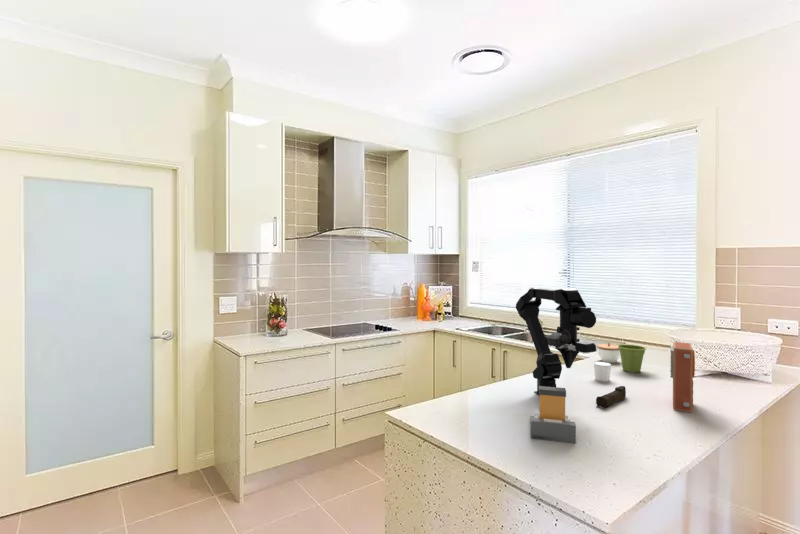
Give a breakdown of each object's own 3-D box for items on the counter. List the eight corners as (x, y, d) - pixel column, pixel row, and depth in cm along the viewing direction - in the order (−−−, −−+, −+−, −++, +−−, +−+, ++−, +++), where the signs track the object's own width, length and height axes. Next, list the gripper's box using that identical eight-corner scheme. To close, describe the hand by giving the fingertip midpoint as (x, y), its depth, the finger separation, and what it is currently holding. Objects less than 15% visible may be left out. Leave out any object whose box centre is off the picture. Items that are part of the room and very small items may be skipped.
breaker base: (530, 418, 138) (530, 402, 138) (570, 422, 135) (570, 405, 135) (531, 438, 123) (531, 420, 123) (575, 443, 120) (575, 424, 119)
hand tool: (606, 409, 147) (606, 396, 147) (595, 406, 151) (595, 393, 150) (632, 399, 159) (632, 386, 159) (621, 396, 162) (622, 384, 162)
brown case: (692, 401, 155) (694, 414, 142) (669, 398, 159) (670, 410, 146) (693, 342, 155) (695, 350, 142) (670, 340, 158) (670, 347, 146)
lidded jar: (600, 363, 213) (600, 344, 212) (594, 358, 223) (594, 340, 223) (623, 364, 211) (623, 345, 211) (616, 359, 221) (616, 341, 221)
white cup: (612, 378, 185) (612, 362, 185) (610, 382, 179) (610, 366, 179) (594, 376, 188) (594, 360, 188) (592, 380, 183) (592, 364, 182)
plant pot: (651, 374, 192) (651, 349, 192) (625, 374, 192) (625, 349, 192) (637, 367, 204) (637, 344, 204) (612, 367, 204) (612, 344, 204)
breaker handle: (538, 425, 129) (538, 385, 129) (564, 428, 127) (565, 388, 127) (539, 429, 126) (539, 389, 126) (565, 432, 124) (566, 391, 124)
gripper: (532, 322, 156) (532, 365, 156) (574, 329, 139) (574, 376, 140) (553, 320, 161) (553, 361, 161) (597, 326, 145) (597, 372, 145)
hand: (568, 368), depth 152 cm, fingers closed
